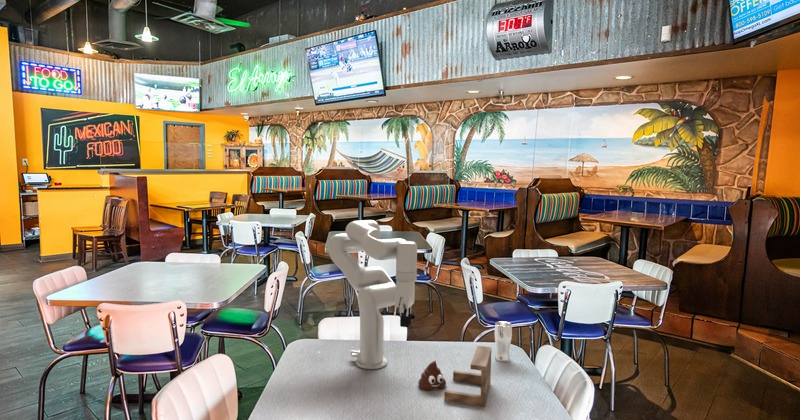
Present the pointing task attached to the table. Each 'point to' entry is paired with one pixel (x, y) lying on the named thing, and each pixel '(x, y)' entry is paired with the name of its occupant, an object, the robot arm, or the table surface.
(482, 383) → the cubby
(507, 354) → the white cylindrical piece
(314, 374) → the table surface
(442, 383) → the poop emoji
